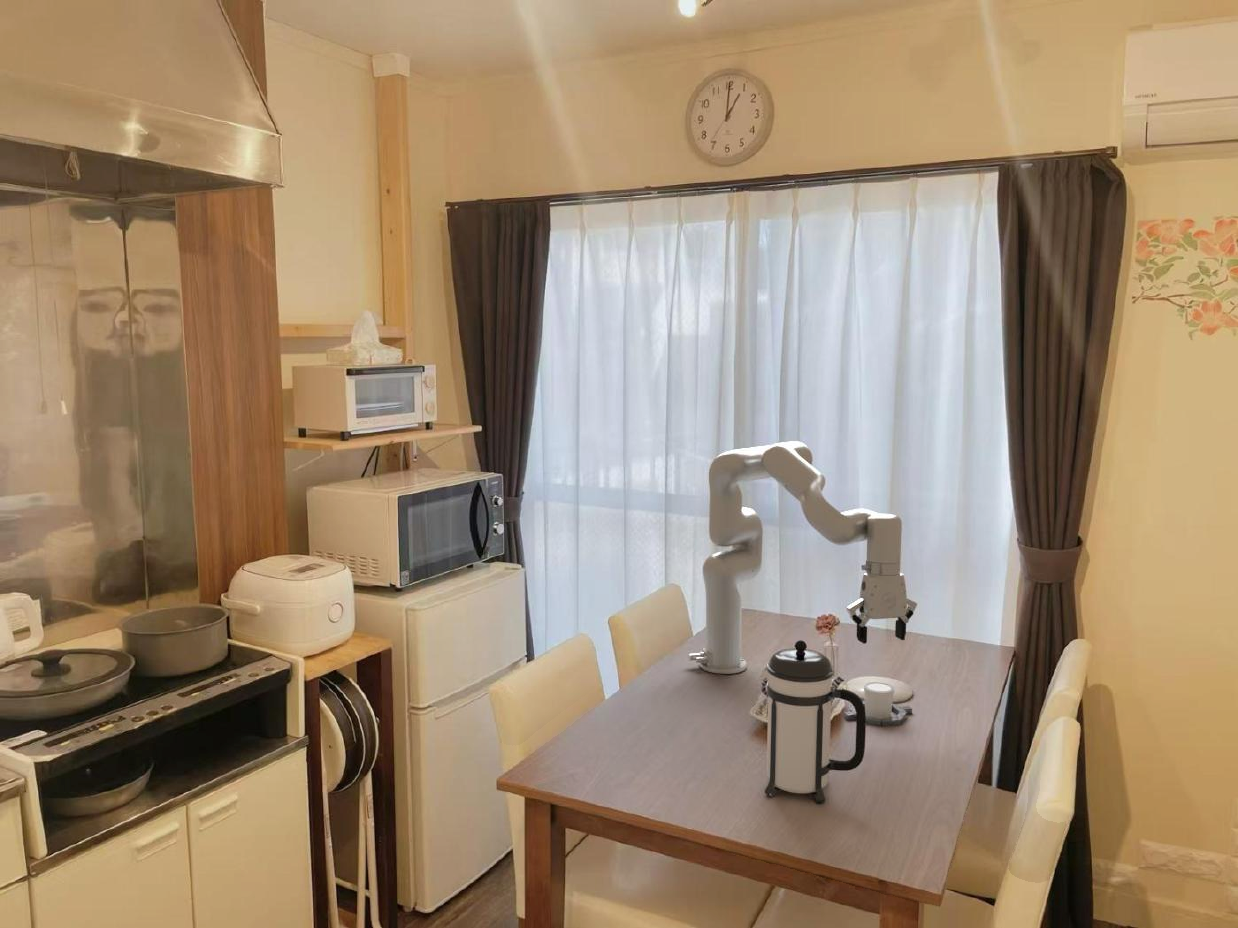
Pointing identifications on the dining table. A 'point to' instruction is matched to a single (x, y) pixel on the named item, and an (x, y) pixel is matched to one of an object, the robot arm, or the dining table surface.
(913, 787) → the dining table surface
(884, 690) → the white cup
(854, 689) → the saucer
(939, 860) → the dining table surface
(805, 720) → the coffee press
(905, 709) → the collar
